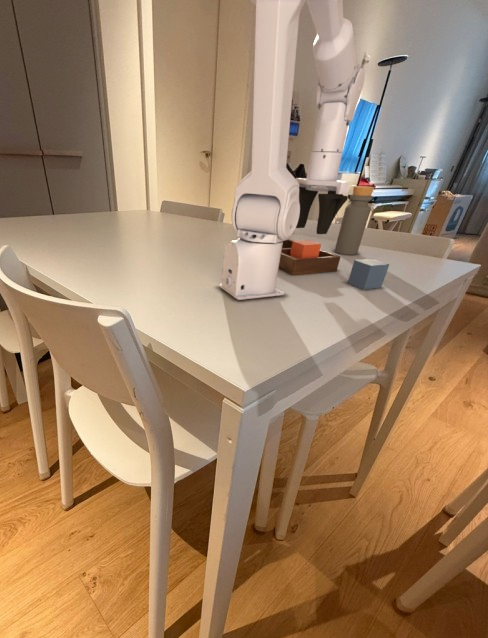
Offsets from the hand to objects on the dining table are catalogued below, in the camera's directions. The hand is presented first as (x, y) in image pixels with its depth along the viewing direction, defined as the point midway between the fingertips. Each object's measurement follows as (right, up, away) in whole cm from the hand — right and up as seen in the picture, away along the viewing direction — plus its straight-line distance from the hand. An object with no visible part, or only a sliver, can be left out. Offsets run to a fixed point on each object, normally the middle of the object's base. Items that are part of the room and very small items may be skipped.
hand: (310, 230), depth 72 cm
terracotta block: (0, -5, +4) cm, 7 cm away
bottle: (+16, +3, +18) cm, 25 cm away
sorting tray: (-2, -3, +8) cm, 9 cm away
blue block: (+9, -14, -6) cm, 17 cm away
